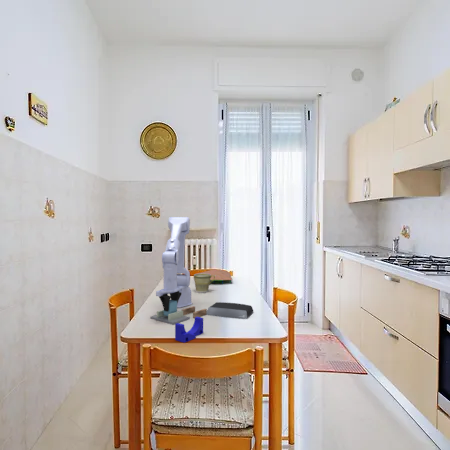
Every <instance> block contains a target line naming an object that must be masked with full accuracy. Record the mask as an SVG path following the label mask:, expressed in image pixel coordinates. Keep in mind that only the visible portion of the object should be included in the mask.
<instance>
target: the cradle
mask: <svg viewBox="0 0 450 450" xmlns="http://www.w3.org/2000/svg"><path fill="white" fill-rule="evenodd" d="M181 310H182V311H183V316H186V315H190V314H192V318H193V319H195V317H201V318H202V317H203V316H207V315H206V313H207V310H208V308H203V309H199V310H196V306H195V305H192V306H189V307H185V308H183V309H181Z"/></svg>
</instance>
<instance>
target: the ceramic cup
mask: <svg viewBox="0 0 450 450" xmlns="http://www.w3.org/2000/svg"><path fill="white" fill-rule="evenodd" d="M200 273H201V274H198V273H195V274H193V280H194V287H195V292H196V293H198V294H205V293H208V292H209V287H210V283H211V284H212V283H213V282H214V281H213V280H214V279H215V276H214V275H210V274H203V273H202V272H200ZM212 276H214V279H213V280H212V281H211V282H210V278H211V277H212Z"/></svg>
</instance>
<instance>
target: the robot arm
mask: <svg viewBox="0 0 450 450" xmlns="http://www.w3.org/2000/svg"><path fill="white" fill-rule="evenodd" d="M190 221H191V219H190V217H189V216H169V217H168V221H167V222H168V223H167V226H168V229H169V232H170V238H169V239H167V241H166V245H165V250H164V252H163V251H162V255H161V262H162V269H163V288H162V289H159V290H157V291H155V296H156V297H158V298H159V299H160V302H161V304H162V308H163V310H164V311H167V312H168V311H169V302H170V300H175V301H177V309H178V308H184V307H187V306H191V305H193V302H192V289H191V287H190V285H191V274H190V270H188V269H187V268H186V267H185V253H186V250H185V249H186V246H185V245H186V236H187V235H188V234H190V229H191V228H190V225H191V222H190Z"/></svg>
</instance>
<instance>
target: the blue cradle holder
mask: <svg viewBox="0 0 450 450" xmlns="http://www.w3.org/2000/svg"><path fill="white" fill-rule="evenodd" d="M174 326H175V327H174V328H175V329H174V336H175V337H174V339H175V341H177V342H180V343H185V344H186V343H187V342H190V341H192V340H194V339H196V337H197V336H199V335H202V334H204V318H203V317H202V316H201V317H195V318H194V322H193V324H192V327H191V328H190V329H189V330H188V331H186V328H185V324H183V323H181V322H180V323H177V324H174Z"/></svg>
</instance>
